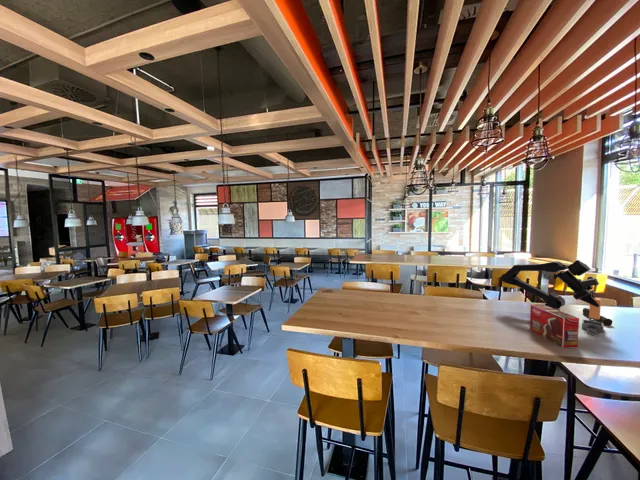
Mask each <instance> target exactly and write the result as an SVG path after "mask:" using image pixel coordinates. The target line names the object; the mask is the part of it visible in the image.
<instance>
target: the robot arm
mask: <svg viewBox="0 0 640 480" xmlns="http://www.w3.org/2000/svg"><path fill="white" fill-rule="evenodd" d="M527 271H528V272H533V271H543V272H548V273H554V274H553V280H556V279H557V278H558V279H559V280H560V281H562V283H564V284H565V285H566V287H567V288H569V289H570V290H572V291H573V296H572V297H573V298H574V299H575V300H576V301H578V300H579V301H582V302H584V303H586V304H589V305H590V304H591V305H594V306H596V307H599V304H598V303H597V302H596V301H595V300H594V299H593V298H596V295H594V287H593V286H599V284H600V283H599V281H598V279H597V277H593V276H588V277H587V278H586V279H584V280H582V279H580V278H577V277H576V276H578V277H580V276H582V275H584V274H586V273H587V272H589V271H591V267H589V266H588V264H586V263H584V262H582V261H581V260H579V259H577V260H575V261H574V262H572V263H571V264H569V265H568V264H564V263H562V262H561V261H558V260H555V261H550V262H545V263H536V264H535V263H534V264H533V263H531V264H530V263H529V264H520V263H519V264H514V265H513V266H512V267H511V268H510V269H508V270H507V271H506V272H505V273H502V275H501V276H500V279H501V282H503V283H505V284H508V285H512V286H516V287H518V288H520V289H522V290H523V291H525V292H528V293H529V294H531V295H534V296H535V297H537V298H539V299H541V300H542V301H543V302H544V303H545V304H544V305H546V306H549V307H551V308H554V309H556V310H559V311H561V307H564V306H565V305H566V299H565V298H564V297H563V296H562V295H560V294H557V293H556V292H553V291H552V292H550V293H549V292H546V291H543V289H540V288H538V287H536V286H534V285H532V284H530V283H528V282H525V281H523V280H522V279H521V278H520V277H519V276H518V275H519V274H520V272H527ZM557 272H558V273H557Z"/></svg>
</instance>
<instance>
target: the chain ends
mask: <svg viewBox="0 0 640 480" xmlns="http://www.w3.org/2000/svg"><path fill="white" fill-rule="evenodd" d="M581 321H582V322H581V329H583V330H586V334H587V335H591V336H592V335H593V336H596V337H598V333H602V334H604V325H603V323H600V322H599V321H597V320H595V319H592V318H588V319H585V318H584V319H583V318H582V320H581Z"/></svg>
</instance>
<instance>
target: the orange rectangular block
mask: <svg viewBox="0 0 640 480" xmlns="http://www.w3.org/2000/svg"><path fill="white" fill-rule="evenodd" d="M593 299H594V300H595V301H596V302H597V303H598V304H599V307H596V306H594V305H591V304H589V308H588V309H589V317H588V319H592V318H594V319H599V318H600V316H601V307H602V306H601V303H602V298H598V297H595V298H593Z"/></svg>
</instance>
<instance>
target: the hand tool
mask: <svg viewBox="0 0 640 480" xmlns="http://www.w3.org/2000/svg"><path fill="white" fill-rule="evenodd" d="M589 309H590V308H587V307H583V309H582V315H584V316H585V317H586V318H589ZM591 319H594V318H591ZM595 320H596V322H600V323H603V326H608V327H610V326H613V320H612V319H610V318H607V317H606V316H604V315H600V318H599V319H595Z"/></svg>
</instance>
